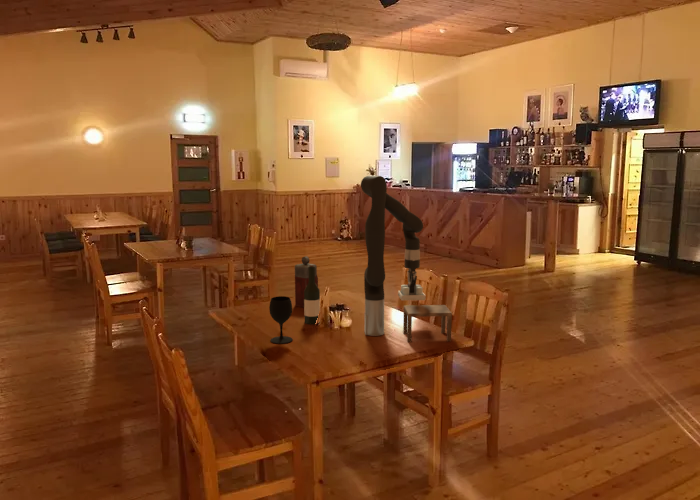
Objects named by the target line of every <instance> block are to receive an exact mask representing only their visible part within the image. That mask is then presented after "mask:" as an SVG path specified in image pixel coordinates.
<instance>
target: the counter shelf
mask: <svg viewBox="0 0 700 500" xmlns="http://www.w3.org/2000/svg"><path fill="white" fill-rule="evenodd" d="M452 315H453V313H452V311H451V310H450V309H449V307H448V306H447V305H446V304H423V305H422V304H418V305H412V304H411V305H403V329H402V330H403V332H402V333H403V334H404V335H406V334H407V336H406V337H407V338H406V339H407V340H406V341H407V343H412V331H413V330H412V328H413V327H412V325H413V320H412V318H415V317H416V318H417V317H419V318H421V317H423V318H424V317H426V318H427V317H441V320H440V321H441V322H440V323H441V325H440V327H441V328H440V331H441V334H445V333H446V342H452V320H453V319H452V318H453V316H452ZM446 319H447V321H446ZM446 323H447V324H446Z"/></svg>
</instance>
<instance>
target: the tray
mask: <svg viewBox="0 0 700 500" xmlns="http://www.w3.org/2000/svg"><path fill="white" fill-rule="evenodd" d="M423 291H424V287H422V285H421V284H416V285H415V286H414V293H410V284H409V283H407V284H401V285H400V290H397V296H398V297H399V299H400V300H401V301H426V294H425V293H424V292H423Z"/></svg>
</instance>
